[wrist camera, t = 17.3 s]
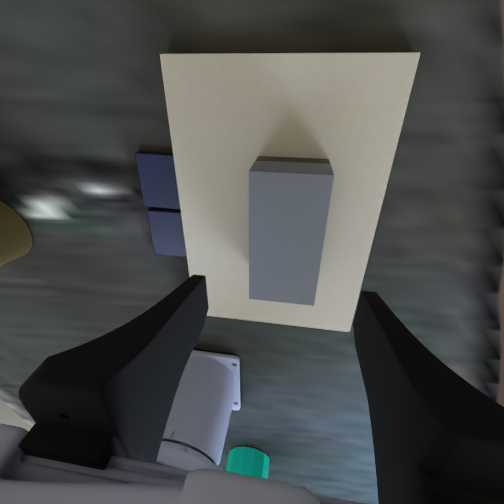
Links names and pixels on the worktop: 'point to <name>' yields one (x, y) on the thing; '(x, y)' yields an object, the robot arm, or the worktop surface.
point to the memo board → (283, 145)
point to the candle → (248, 462)
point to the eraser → (287, 227)
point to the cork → (13, 235)
